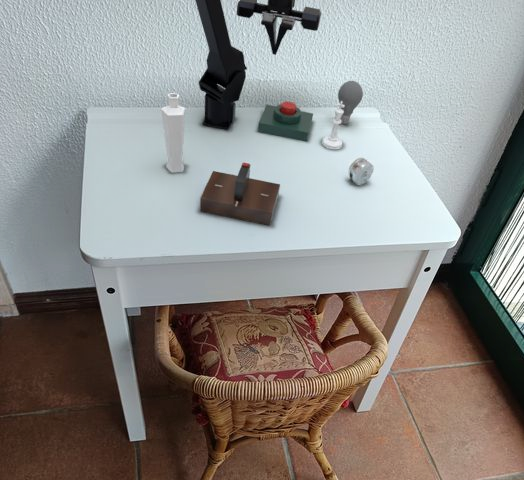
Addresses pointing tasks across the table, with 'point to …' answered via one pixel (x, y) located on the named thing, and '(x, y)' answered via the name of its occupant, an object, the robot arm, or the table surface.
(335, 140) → the chess piece
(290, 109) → the button
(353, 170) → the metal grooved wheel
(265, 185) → the panel
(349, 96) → the light bulb
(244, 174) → the knob
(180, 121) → the perfume bottle
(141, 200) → the table surface
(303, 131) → the button box
